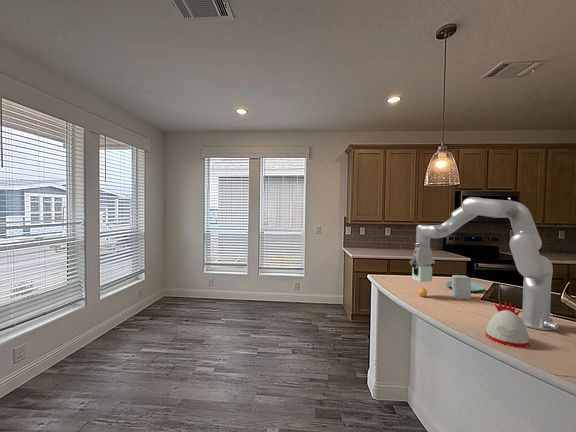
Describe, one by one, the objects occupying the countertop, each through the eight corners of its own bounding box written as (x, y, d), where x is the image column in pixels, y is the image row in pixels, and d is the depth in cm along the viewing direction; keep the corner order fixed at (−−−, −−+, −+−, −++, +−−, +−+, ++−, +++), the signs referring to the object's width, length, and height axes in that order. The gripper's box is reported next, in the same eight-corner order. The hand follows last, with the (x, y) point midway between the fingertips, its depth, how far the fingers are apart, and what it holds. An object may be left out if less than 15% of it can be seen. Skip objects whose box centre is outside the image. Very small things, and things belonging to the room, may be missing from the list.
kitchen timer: (487, 329, 127) (488, 295, 126) (529, 338, 118) (530, 301, 118) (484, 340, 116) (485, 302, 116) (529, 351, 107) (530, 310, 107)
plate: (492, 294, 183) (492, 290, 183) (455, 293, 184) (455, 288, 184) (472, 285, 205) (472, 281, 205) (439, 284, 206) (439, 280, 206)
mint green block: (431, 281, 172) (432, 266, 172) (420, 281, 171) (420, 266, 171) (423, 278, 180) (423, 264, 180) (412, 278, 178) (412, 264, 178)
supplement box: (464, 296, 178) (464, 275, 177) (470, 299, 170) (471, 278, 170) (451, 295, 178) (452, 274, 178) (457, 299, 171) (457, 277, 171)
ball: (430, 292, 172) (425, 286, 176) (422, 292, 171) (418, 286, 175) (426, 298, 175) (422, 291, 179) (419, 298, 174) (415, 291, 178)
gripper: (413, 246, 170) (412, 276, 170) (439, 246, 173) (439, 275, 174) (406, 244, 177) (405, 273, 177) (431, 244, 181) (430, 272, 181)
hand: (421, 274), depth 175 cm, fingers closed on mint green block, 7 cm apart
